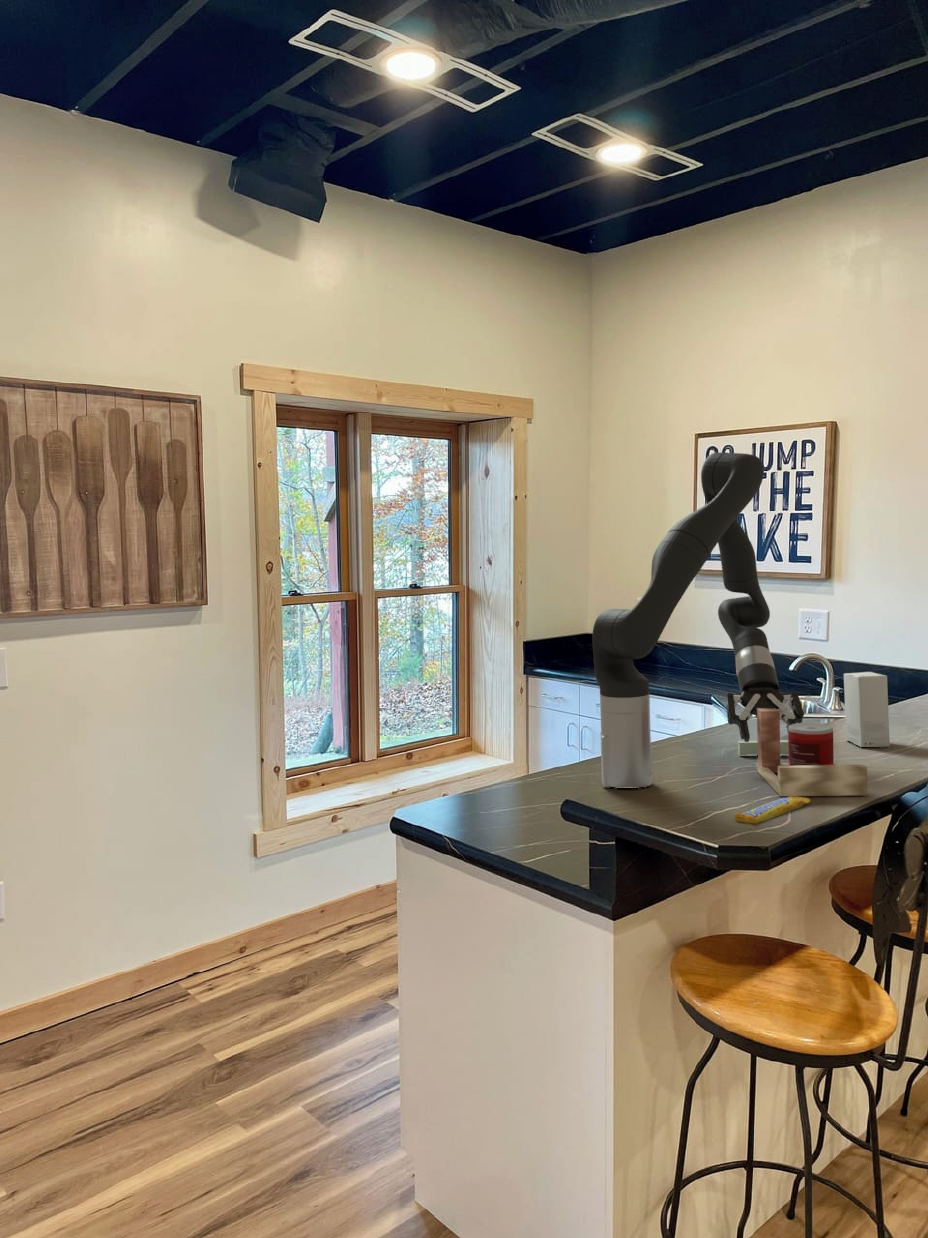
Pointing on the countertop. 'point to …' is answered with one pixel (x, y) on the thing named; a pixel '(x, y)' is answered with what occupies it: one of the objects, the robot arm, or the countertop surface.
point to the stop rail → (752, 747)
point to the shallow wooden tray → (802, 766)
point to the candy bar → (771, 809)
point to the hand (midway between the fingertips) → (770, 739)
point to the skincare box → (866, 709)
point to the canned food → (810, 744)
